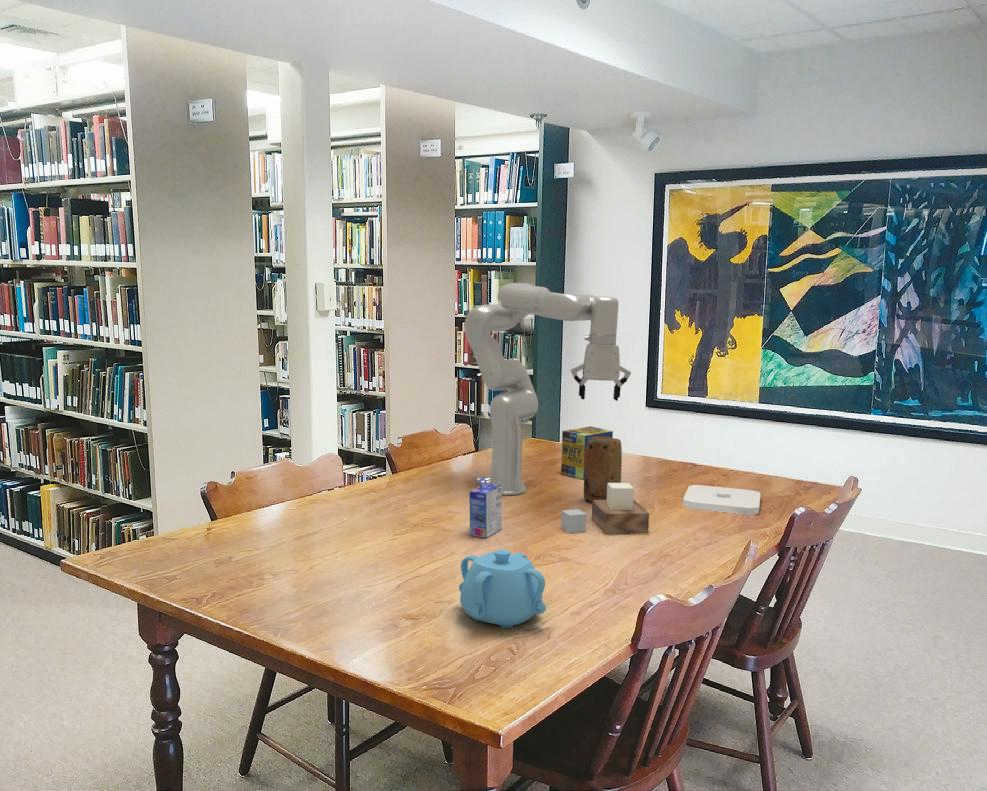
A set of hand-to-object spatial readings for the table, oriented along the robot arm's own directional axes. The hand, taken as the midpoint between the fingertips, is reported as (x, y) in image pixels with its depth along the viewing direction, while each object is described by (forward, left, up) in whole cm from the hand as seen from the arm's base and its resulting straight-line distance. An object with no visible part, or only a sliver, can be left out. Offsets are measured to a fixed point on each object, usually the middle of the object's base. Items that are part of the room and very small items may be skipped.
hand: (599, 399), depth 237 cm
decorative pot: (-33, -76, -33) cm, 89 cm away
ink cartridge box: (-33, -21, -33) cm, 51 cm away
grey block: (-9, -19, -33) cm, 39 cm away
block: (+4, +9, -33) cm, 35 cm away
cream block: (+4, -16, -28) cm, 32 cm away
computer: (+41, +9, -34) cm, 54 cm away
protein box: (+6, +45, -33) cm, 57 cm away
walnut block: (+4, -15, -34) cm, 37 cm away
